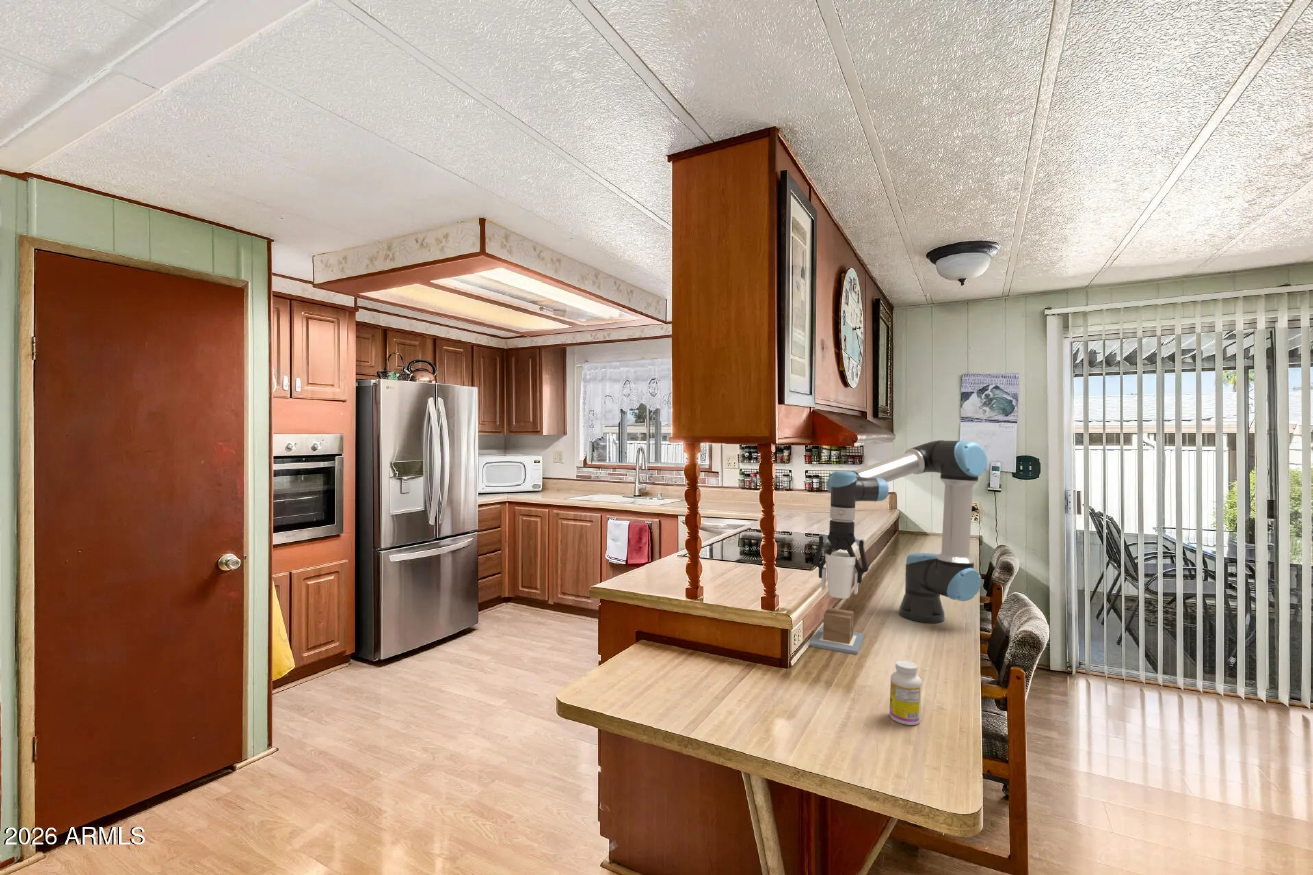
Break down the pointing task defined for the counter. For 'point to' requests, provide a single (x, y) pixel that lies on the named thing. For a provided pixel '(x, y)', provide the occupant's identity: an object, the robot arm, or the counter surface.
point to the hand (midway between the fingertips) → (839, 590)
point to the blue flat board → (838, 643)
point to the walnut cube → (838, 625)
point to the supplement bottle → (905, 694)
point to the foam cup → (840, 573)
